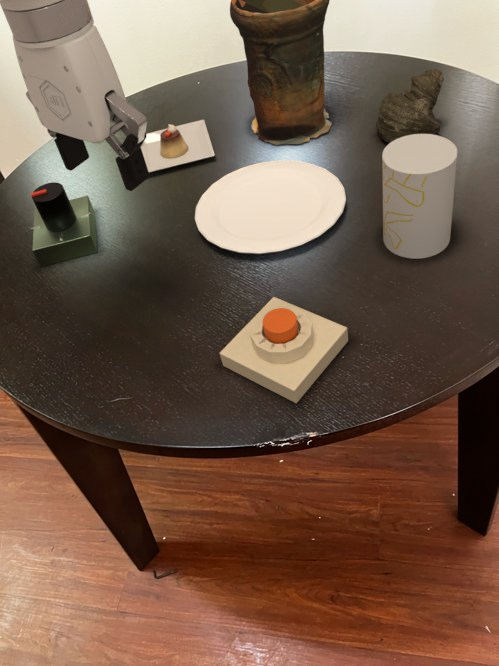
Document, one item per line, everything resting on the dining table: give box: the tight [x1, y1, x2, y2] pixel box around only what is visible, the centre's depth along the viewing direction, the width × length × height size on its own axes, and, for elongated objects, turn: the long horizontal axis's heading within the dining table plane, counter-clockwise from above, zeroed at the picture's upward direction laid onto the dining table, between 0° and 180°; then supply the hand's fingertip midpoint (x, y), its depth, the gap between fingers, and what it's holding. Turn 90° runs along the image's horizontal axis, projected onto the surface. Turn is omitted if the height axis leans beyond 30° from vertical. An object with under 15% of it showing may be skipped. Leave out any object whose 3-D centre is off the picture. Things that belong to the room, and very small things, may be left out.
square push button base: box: [219, 296, 349, 404], centre depth 70 cm, size 10×10×4 cm
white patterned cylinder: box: [381, 134, 458, 260], centre depth 77 cm, size 8×8×12 cm
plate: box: [194, 159, 347, 255], centre depth 89 cm, size 21×21×2 cm
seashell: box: [375, 68, 444, 144], centre depth 94 cm, size 11×12×10 cm
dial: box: [30, 181, 76, 231], centre depth 89 cm, size 4×4×5 cm
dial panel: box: [30, 195, 98, 268], centre depth 92 cm, size 10×9×3 cm
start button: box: [263, 308, 298, 344], centre depth 68 cm, size 4×4×2 cm
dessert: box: [141, 119, 216, 174], centre depth 103 cm, size 12×12×5 cm
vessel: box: [229, 0, 332, 146], centre depth 98 cm, size 14×14×20 cm
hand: (107, 173), depth 72 cm, fingers open, 9 cm apart
